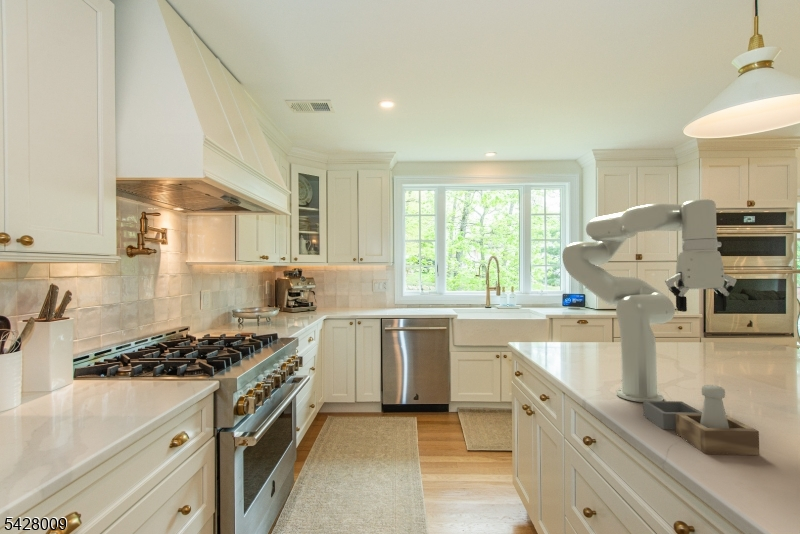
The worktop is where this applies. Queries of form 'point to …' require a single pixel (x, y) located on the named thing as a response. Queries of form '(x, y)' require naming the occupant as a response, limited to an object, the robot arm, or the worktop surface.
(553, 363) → the worktop surface
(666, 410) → the grey open tray
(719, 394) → the salt shaker
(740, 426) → the brown wooden open box
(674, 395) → the worktop surface
